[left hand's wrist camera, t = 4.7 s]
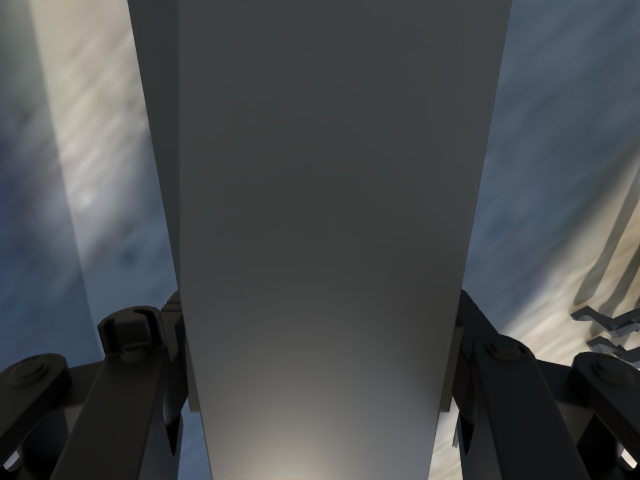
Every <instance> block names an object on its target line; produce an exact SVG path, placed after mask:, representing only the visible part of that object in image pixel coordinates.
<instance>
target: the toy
mask: <svg viewBox="0 0 640 480" xmlns="http://www.w3.org/2000/svg"><path fill="white" fill-rule="evenodd" d="M571 317H572V319H573V320H576V321H593V322H594V323H595V324H597V325H598V326H599V327H601V328H602V329H603V330H605V331H606V332H608V333H609V334H610V335H612V336H613V337H617V338H618V337H619V338H620V337H622V336H624V335H626V334H628V333H631V332H633V331H636V332H638V331H640V308H638V309H635V310H632V311H630V312H627V313H624V314H622V315H620V316H618V317H616V318H614V319H612V318H610V317H607V316H604V315H602V314H599V313H598V312H596V311H595V310H593V309H592V308H591V307H589V306H586V307H584V308H582V309H580V310H578V311H576V312H574V313H573V314H571ZM587 345H588V347H589V349H590V350H591V351H592V352H597V353H603V352H610V353H613V354H614V355H615V356H616V357H617V358H619V359H620V360H622V361H624V362H626V363H628V364H630V365H632V366H633V367H635V368H640V347H637V348H635V349H632V350H628V351H626V350H625V349H624V348H623V347H622V346H621V345H620V344H619V345H618V346H617V347H616V346H615V345H614V344H612V343H611V342H610V341H609V340H608V339H606V338H603V337H601V336H599V337H597V338H595V339H593V340H591V341H589V342H587Z"/></svg>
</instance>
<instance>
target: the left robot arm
mask: <svg viewBox="0 0 640 480" xmlns="http://www.w3.org/2000/svg"><path fill="white" fill-rule="evenodd" d="M97 328H98V331H99V335H100V338H101V342H102V345H103V349H104V352H105V355H106V356H105V358H104V361H100V362H96V363H92V364H87V365H82V366H77V367H73V368H69V367H68V364H67V361H66V358H64V357H63V356H62V355H61V354H54V353H48V354H40V355H35V356H32V357H28V358H26V359H23V360H21V361H19V362H17V363H15V364H13V365H11V366H9V367H8V368H6V369H5V370H4V371H2V372H1V373H0V480H177V477H178V468H179V460H180V451H181V442H182V433H183V419H182V414H181V410H182V408H183V405H184V403H185V401H186V399H187V397H188V401H189V407H190V412H200V409H199V403H198V398H197V392H196V386H195V381H194V375H193V369H192V364H191V358H190V352H189V347H188V341H187V335H186V330H185V324H184V318H183V313H182V307H181V301H180V296H179V290H178V291H176V292H175V293H174V294H173V295H172V296H171V297H170V299H169V300H168V301H167V304H165V305H164V306H163V308H162V309H161V312H160V311H159V310H158V309H157V308H156V307H151V306H134V307H130V308H125V309H122V310H120V311H117V312H115V313H112V314H111V315H109V316H108V317H106V318H104V319H103V320H102V321H101V322H100V323H99V324H98V326H97ZM452 395H453V398H454V400H455V402H456V404H457V406H458V409H459V414H458V419H457V424H456V429H455V434H454V439H453V445H452V447H455V448H457V445H458V441H459V450H460V459H461V467H462V476H463V480H640V371H639V370H638V369H636V368H635V367H633V366H632V365H630V364H628V363H626V362H624V361H622V360H620V359H619V358H616V357H614V356H611V355H610V356H609V355H607V354H603V353H597V352H582V353H579V354H578V355H576V356H575V357H574V360H573V363H572V366H571V367H570V366H565V365H560V364H555V363H551V362H546V361H542V360H538V359H536V358H535V356H534V354H533V353H532V352H531V350H530V349H529V348H528V347H527V346H525V345H524V344H523V343H521V342H520V341H518V340H515V339H513V338H511V337H509V336H505V335H501V334H499V333H498V332H497V331H496V329H495V328H494V327H493V326H492V324H491V323H490V322H489V321H488V319H487V318H486V317H485V315H484V314H483V313H482V312H481V310H479V308H478V307H477V305H476V304H475V303H473V300H472V299H471V298H470V296H469V295H468V294H467V293H466V291H464V290H462V289H461V293H460V299H459V305H458V311H457V316H456V322H455V328H454V333H453V339H452V345H451V350H450V356H449V362H448V367H447V373H446V379H445V384H444V390H443V396H442V401H441V407H440V412H449V411H450V405H451V400H452ZM624 448H625V449H626V451H627V452H628V453H629V454H630V455H631V456H632V458H633V459H634V460H635V461H636V462H637V465H636V467H635V468H632V467H631V466H630V465H629V464H628V463H627V462H626V461H625V460H624V458H623V457H622V456H621V454H622V452H623V450H624ZM15 451H17V453H18V455H19V458H18V459H17V460H16V461H15V463H14V464H13V465H12V466H11V467H9V468H8V469H7V470H6V469H5V468H4V466H3V465H4V463H5V462H6V461H7V460H8V459H9V458H10V456H11V455H12V454H13V453H14V452H15Z"/></svg>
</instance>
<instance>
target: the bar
mask: <svg viewBox="0 0 640 480" xmlns="http://www.w3.org/2000/svg"><path fill="white" fill-rule="evenodd" d="M127 1H128V7H129V12H130V18H131V24H132V29H133V35H134V41H135V46H136V52H137V58H138V63H139V69H140V75H141V80H142V86H143V92H144V97H145V103H146V109H147V114H148V120H149V126H150V131H151V137H152V143H153V148H154V154H155V160H156V165H157V171H158V177H159V182H160V188H161V194H162V199H163V205H164V211H165V216H166V222H167V228H168V233H169V239H170V245H171V250H172V256H173V262H174V267H175V273H176V279H177V284H178V290H179V296H180V301H181V307H182V313H183V318H184V324H185V330H186V335H187V341H188V347H189V352H190V358H191V364H192V369H193V375H194V381H195V386H196V392H197V398H198V403H199V409H200V415H201V420H202V426H203V432H204V437H205V443H206V449H207V454H208V460H209V466H210V471H211V477H212V480H428V475H429V469H430V464H431V458H432V452H433V447H434V441H435V435H436V430H437V424H438V418H439V413H440V407H441V401H442V396H443V390H444V384H445V379H446V373H447V367H448V362H449V356H450V350H451V345H452V339H453V333H454V328H455V322H456V316H457V311H458V305H459V299H460V293H461V288H462V282H463V276H464V271H465V265H466V259H467V254H468V248H469V242H470V237H471V231H472V225H473V220H474V214H475V208H476V203H477V197H478V191H479V186H480V180H481V174H482V169H483V163H484V157H485V152H486V146H487V140H488V135H489V129H490V123H491V117H492V112H493V106H494V100H495V95H496V89H497V83H498V78H499V72H500V66H501V61H502V55H503V49H504V44H505V38H506V32H507V27H508V21H509V15H510V10H511V4H512V0H127Z"/></svg>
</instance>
